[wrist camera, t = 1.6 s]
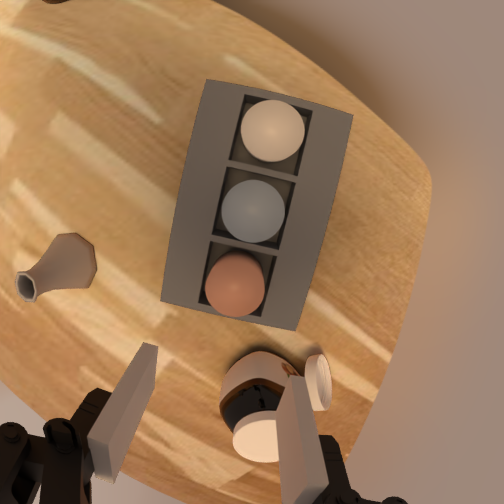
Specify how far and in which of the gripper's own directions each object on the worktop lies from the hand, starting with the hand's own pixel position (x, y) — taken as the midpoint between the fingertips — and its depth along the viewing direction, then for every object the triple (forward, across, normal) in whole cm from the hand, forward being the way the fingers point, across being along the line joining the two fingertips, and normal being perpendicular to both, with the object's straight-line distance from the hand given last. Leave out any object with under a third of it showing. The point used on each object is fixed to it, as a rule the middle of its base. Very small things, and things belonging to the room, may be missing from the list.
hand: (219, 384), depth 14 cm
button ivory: (+17, 0, +14) cm, 22 cm away
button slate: (+17, 0, +7) cm, 19 cm away
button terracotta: (+17, 0, 0) cm, 17 cm away
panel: (+20, 0, +7) cm, 21 cm away
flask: (+20, -20, -4) cm, 29 cm away
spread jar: (+20, +8, -12) cm, 25 cm away
